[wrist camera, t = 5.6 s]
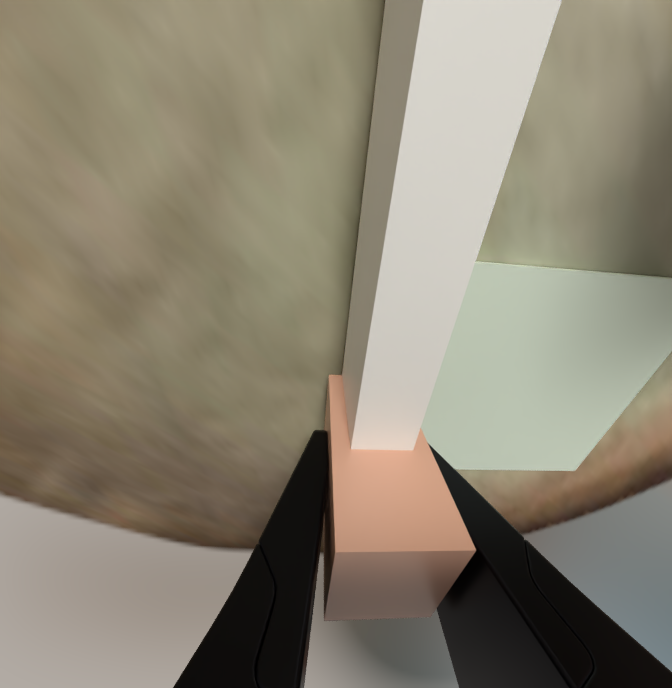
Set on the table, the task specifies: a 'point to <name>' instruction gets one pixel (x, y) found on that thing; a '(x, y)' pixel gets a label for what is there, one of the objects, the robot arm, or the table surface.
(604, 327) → the mat
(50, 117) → the table surface
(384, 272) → the bar
